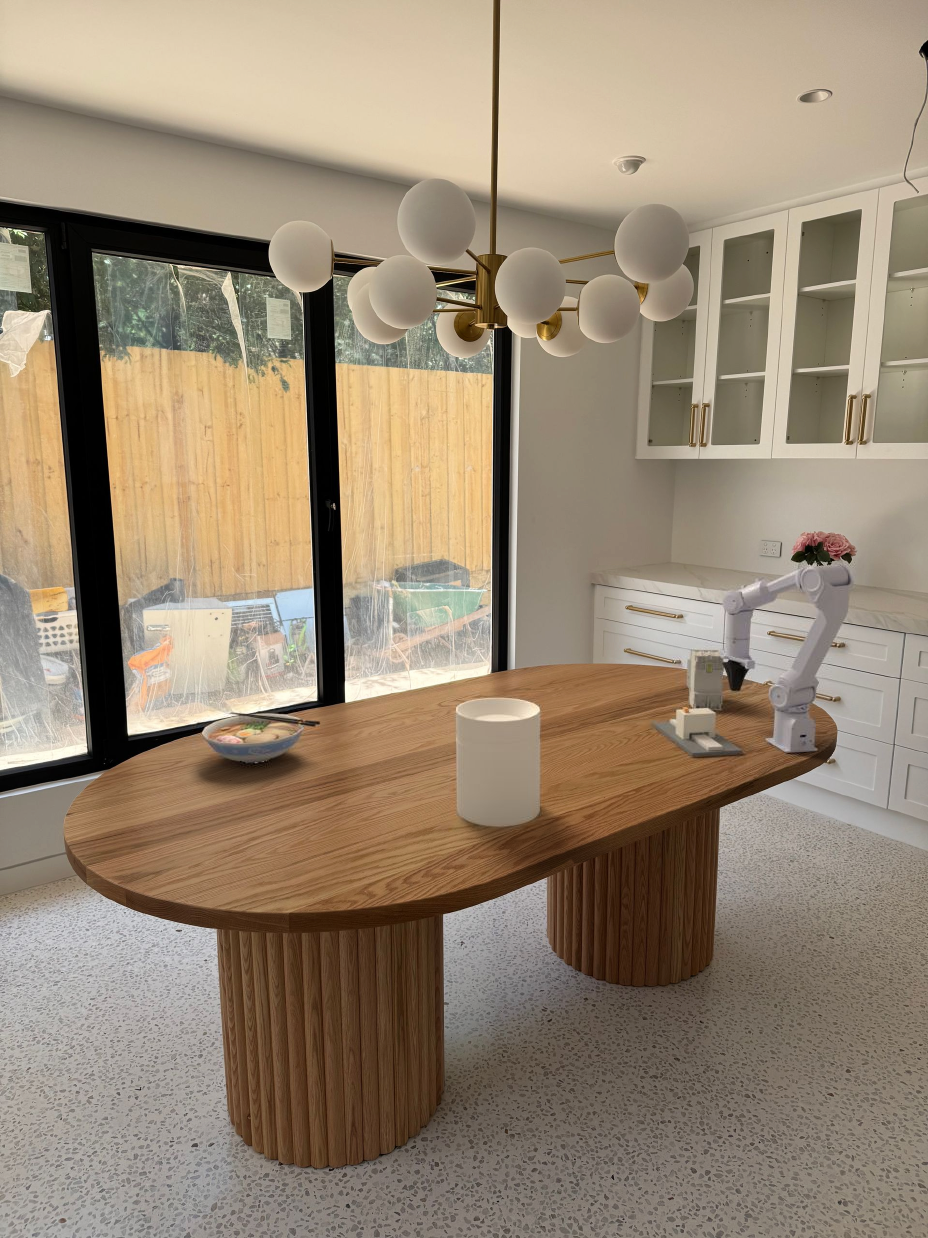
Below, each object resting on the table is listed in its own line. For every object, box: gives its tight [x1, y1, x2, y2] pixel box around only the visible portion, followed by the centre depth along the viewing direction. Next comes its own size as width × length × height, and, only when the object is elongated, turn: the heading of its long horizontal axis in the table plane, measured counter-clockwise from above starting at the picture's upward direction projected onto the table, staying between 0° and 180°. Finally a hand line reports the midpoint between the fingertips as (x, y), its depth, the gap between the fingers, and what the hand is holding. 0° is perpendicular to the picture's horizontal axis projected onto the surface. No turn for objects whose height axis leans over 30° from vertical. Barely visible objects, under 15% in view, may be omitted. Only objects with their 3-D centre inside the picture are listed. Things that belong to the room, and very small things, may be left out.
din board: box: [651, 718, 743, 758], centre depth 198 cm, size 24×12×2 cm, turn 9°
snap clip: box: [689, 732, 702, 736], centre depth 198 cm, size 3×2×1 cm
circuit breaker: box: [686, 649, 725, 711], centre depth 229 cm, size 8×14×15 cm, turn 174°
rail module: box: [675, 706, 717, 739], centre depth 198 cm, size 4×8×7 cm, turn 99°
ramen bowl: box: [201, 711, 321, 764], centre depth 187 cm, size 25×23×8 cm
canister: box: [455, 697, 541, 828], centre depth 156 cm, size 16×16×20 cm
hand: (735, 690), depth 207 cm, fingers closed
